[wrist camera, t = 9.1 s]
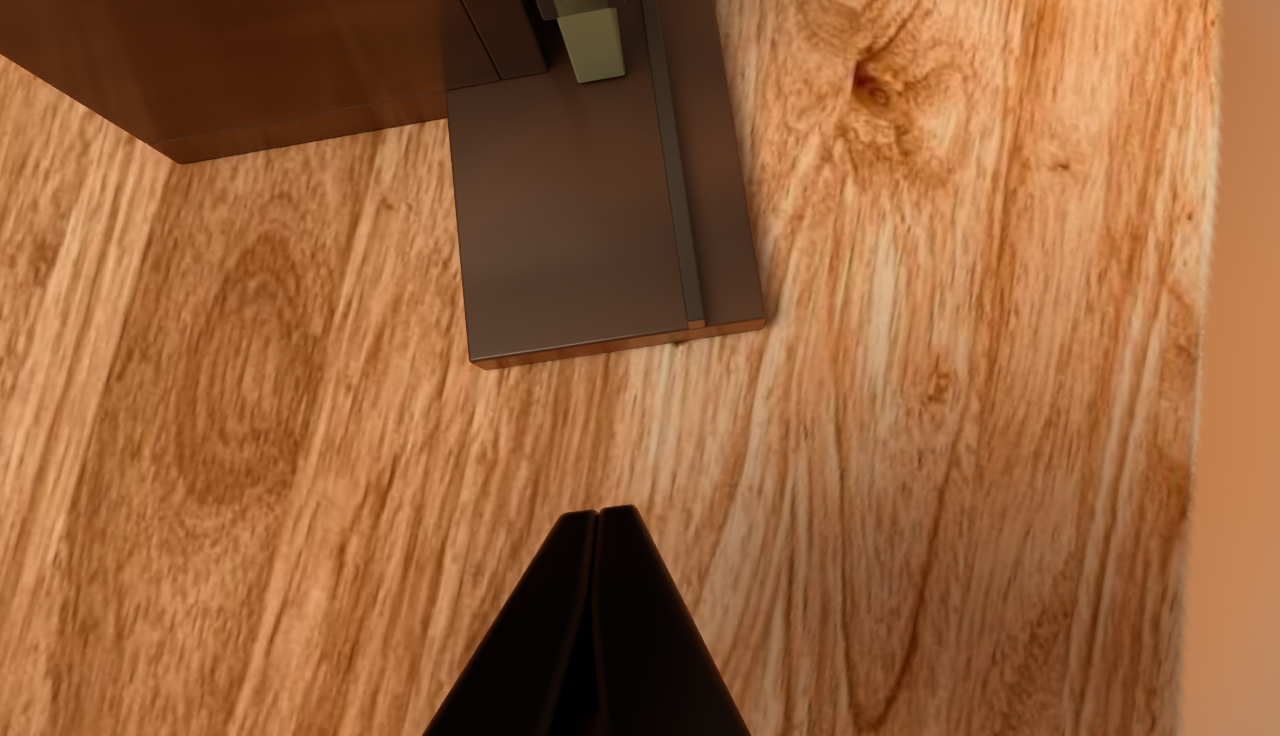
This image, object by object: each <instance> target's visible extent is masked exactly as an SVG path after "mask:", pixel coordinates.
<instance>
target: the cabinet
mask: <svg viewBox="0 0 1280 736" xmlns="http://www.w3.org/2000/svg"><path fill="white" fill-rule="evenodd" d="M625 1H626V2H625V5H624V6H622V7H617V12H618V19H619V26H620V34H621V41H622V48H623V55H624V62H625V70H626V73H625V75H623V76H617V77H612V78H606V79H600V80H595V81H589V82H584V83H579V82H578V81H577V78H576V75H575V72H574V69H573V66H572V63H571V60H570V57H569V54H568V51H567V48H566V45H565V42H564V39H563V36H562V33H561V30H560V27H559V24H558V21H557V19H552V20H547V21H546V20H543V19H542V17H541V14H540V11H539V9H538V6H537V3H536V0H0V54H1V55H3V56H4V57H6V58H8V59H9V60H11V61H13V62H14V63H16V64H17V65H19V66H21V67H22V68H24V69H26V70H27V71H29V72H30V73H32V74H34V75H35V76H37V77H39V78H40V79H42V80H43V81H45V82H47V83H48V84H50V85H52V86H53V87H55V88H56V89H58V90H60V91H61V92H63V93H65V94H66V95H68V96H69V97H71V98H73V99H74V100H76V101H78V102H79V103H81V104H82V105H84V106H86V107H87V108H89V109H91V110H92V111H94V112H95V113H97V114H99V115H100V116H102V117H104V118H105V119H107V120H108V121H110V122H112V123H113V124H115V125H117V126H118V127H120V128H121V129H123V130H125V131H126V132H128V133H130V134H131V135H133V136H134V137H136V138H138V139H139V140H141V141H143V142H144V143H147V144H148V145H149V146H151V147H152V148H154V149H156V150H157V151H159V152H160V153H162V154H164V155H165V156H167V157H169V158H170V159H172V160H173V161H175V162H177V163H178V164H184V163H189V162H195V161H201V160H206V159H212V158H218V157H223V156H229V155H235V154H240V153H246V152H252V151H257V150H263V149H269V148H274V147H280V146H286V145H291V144H297V143H303V142H308V141H314V140H320V139H326V138H331V137H337V136H343V135H348V134H354V133H360V132H365V131H371V130H377V129H382V128H388V127H394V126H399V125H405V124H411V123H416V122H422V121H428V120H433V119H439V118H445V117H447V118H448V130H449V141H450V152H451V163H452V174H453V186H454V197H455V208H456V219H457V230H458V242H459V253H460V264H461V275H462V286H463V298H464V309H465V320H466V331H467V342H468V354H469V361H470V362H471V363H473V364H475V365H476V366H478V367H480V368H482V369H484V370H490V369H497V368H504V367H511V366H517V365H524V364H531V363H537V362H544V361H551V360H558V359H564V358H571V357H578V356H585V355H591V354H598V353H605V352H612V351H618V350H625V349H632V348H638V347H645V346H652V345H659V344H665V343H672V342H679V341H686V340H692V339H699V338H706V337H713V336H719V335H726V334H733V333H740V332H746V331H753V330H760V329H762V328H763V325H764V322H765V318H766V311H765V305H764V299H763V293H762V287H761V281H760V275H759V269H758V263H757V257H756V251H755V245H754V239H753V233H752V227H751V221H750V215H749V209H748V203H747V197H746V191H745V185H744V178H743V172H742V166H741V160H740V154H739V148H738V142H737V136H736V130H735V124H734V118H733V112H732V106H731V100H730V94H729V88H728V82H727V76H726V70H725V64H724V58H723V52H722V46H721V40H720V34H719V28H718V22H717V16H716V10H715V4H714V0H625Z"/></svg>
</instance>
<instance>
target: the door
mask: <svg viewBox="0 0 1280 736" xmlns="http://www.w3.org/2000/svg"><path fill="white" fill-rule="evenodd" d="M625 2H626V1H625V0H536V3H537V6H538V9H539V11H540V14H541V17H542V19H543V20H546V21H547V20H552V19H557V21H558V24H559V27H560V30H561V33H562V36H563V39H564V42H565V45H566V48H567V51H568V54H569V57H570V60H571V63H572V66H573V69H574V72H575V75H576V78H577V81H578V82H579V83H584V82H589V81H595V80H600V79H606V78H612V77H617V76H623V75H625V73H626V70H625V62H624V55H623V48H622V41H621V34H620V26H619V19H618V12H617V7H622V6H624V5H625Z"/></svg>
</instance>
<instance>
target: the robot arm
mask: <svg viewBox="0 0 1280 736" xmlns="http://www.w3.org/2000/svg"><path fill="white" fill-rule="evenodd" d="M422 736H751V734H750V732H749V730H748V728H747V726H746V724H745V722H744V720H743V718H742V716H741V714H740V712H739V710H738V708H737V706H736V704H735V702H734V700H733V698H732V696H731V694H730V692H729V690H728V688H727V686H726V684H725V682H724V680H723V678H722V676H721V674H720V673H719V671H718V669H717V667H716V665H715V663H714V661H713V659H712V657H711V655H710V653H709V651H708V649H707V647H706V645H705V643H704V641H703V639H702V637H701V635H700V633H699V631H698V629H697V627H696V625H695V623H694V621H693V619H692V617H691V615H690V613H689V611H688V609H687V607H686V605H685V603H684V601H683V599H682V597H681V595H680V593H679V591H678V589H677V587H676V585H675V583H674V581H673V579H672V577H671V575H670V573H669V571H668V569H667V567H666V565H665V563H664V561H663V559H662V557H661V555H660V553H659V551H658V549H657V547H656V545H655V543H654V541H653V539H652V537H651V535H650V533H649V531H648V529H647V527H646V525H645V523H644V521H643V519H642V517H641V515H640V513H639V511H638V509H637V508H636V507H635V506H634V505H632V504H629V505H621V506H613V507H606V508H603V509H601V510H600V512H599V513H598V512H597V511H595V510H593V509H591V510H583V511H576V512H568V513H564V514H563V515H561V516H560V517H559V518H558V520H557V521H556V523H555V525H554V526H553V528H552V529H551V531H550V533H549V534H548V536H547V537H546V539H545V540H544V542H543V544H542V545H541V547H540V548H539V550H538V552H537V553H536V555H535V556H534V558H533V560H532V561H531V563H530V564H529V566H528V568H527V569H526V571H525V572H524V574H523V575H522V577H521V579H520V580H519V582H518V583H517V585H516V587H515V588H514V590H513V591H512V593H511V595H510V596H509V598H508V599H507V601H506V603H505V604H504V606H503V607H502V609H501V611H500V612H499V614H498V615H497V617H496V618H495V620H494V622H493V623H492V625H491V626H490V628H489V630H488V631H487V633H486V634H485V636H484V638H483V639H482V641H481V642H480V644H479V646H478V647H477V649H476V650H475V652H474V654H473V655H472V657H471V658H470V660H469V661H468V663H467V665H466V666H465V668H464V669H463V671H462V673H461V674H460V676H459V677H458V679H457V681H456V682H455V684H454V685H453V687H452V689H451V690H450V692H449V693H448V695H447V696H446V698H445V700H444V701H443V703H442V704H441V706H440V708H439V709H438V711H437V712H436V714H435V716H434V717H433V719H432V720H431V722H430V724H429V725H428V727H427V728H426V730H425V732H424V733H423V735H422Z"/></svg>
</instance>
